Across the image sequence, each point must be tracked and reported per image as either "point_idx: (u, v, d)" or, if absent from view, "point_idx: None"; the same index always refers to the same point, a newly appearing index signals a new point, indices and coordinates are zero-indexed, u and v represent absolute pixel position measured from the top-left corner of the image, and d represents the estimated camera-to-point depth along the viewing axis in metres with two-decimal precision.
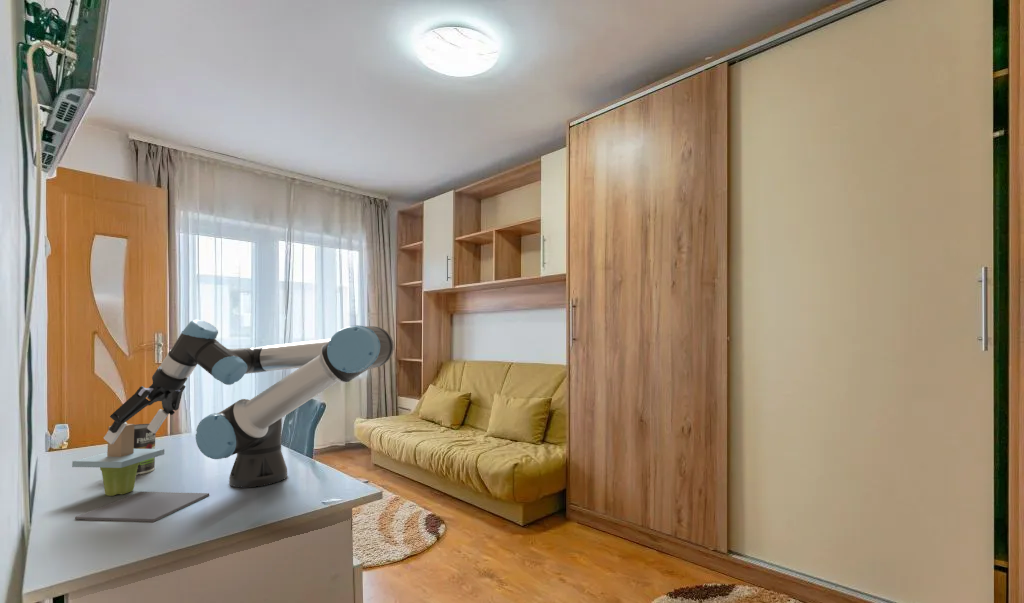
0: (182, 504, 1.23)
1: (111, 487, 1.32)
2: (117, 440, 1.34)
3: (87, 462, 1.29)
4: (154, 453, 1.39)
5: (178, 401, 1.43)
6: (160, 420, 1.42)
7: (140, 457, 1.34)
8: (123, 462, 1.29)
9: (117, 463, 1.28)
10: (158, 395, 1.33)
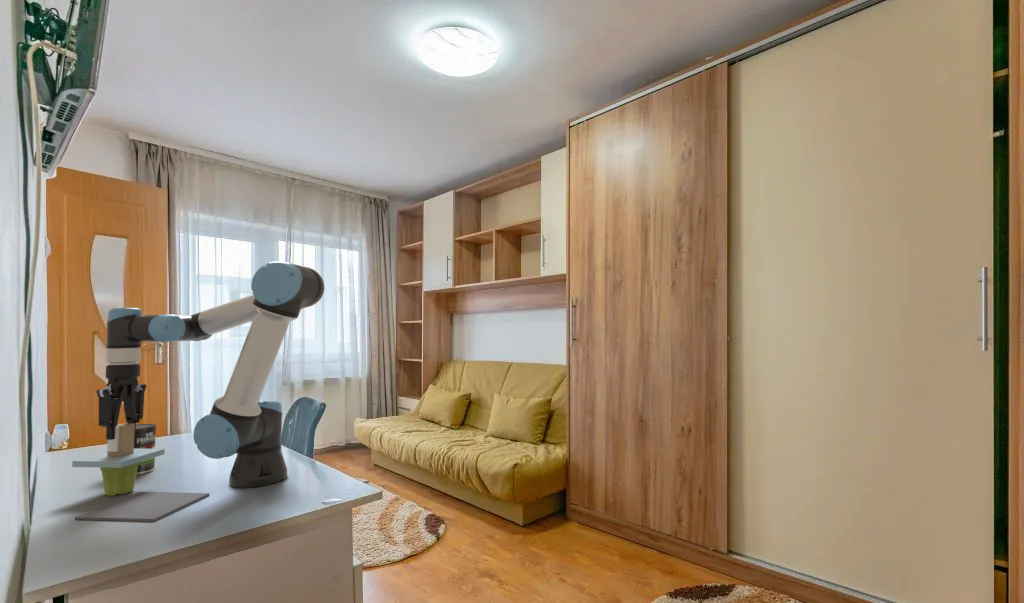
0: (182, 504, 1.23)
1: (111, 487, 1.32)
2: None
3: (87, 462, 1.29)
4: (154, 453, 1.39)
5: (141, 405, 1.42)
6: None
7: (140, 457, 1.34)
8: (123, 462, 1.29)
9: (117, 463, 1.28)
10: (121, 389, 1.35)
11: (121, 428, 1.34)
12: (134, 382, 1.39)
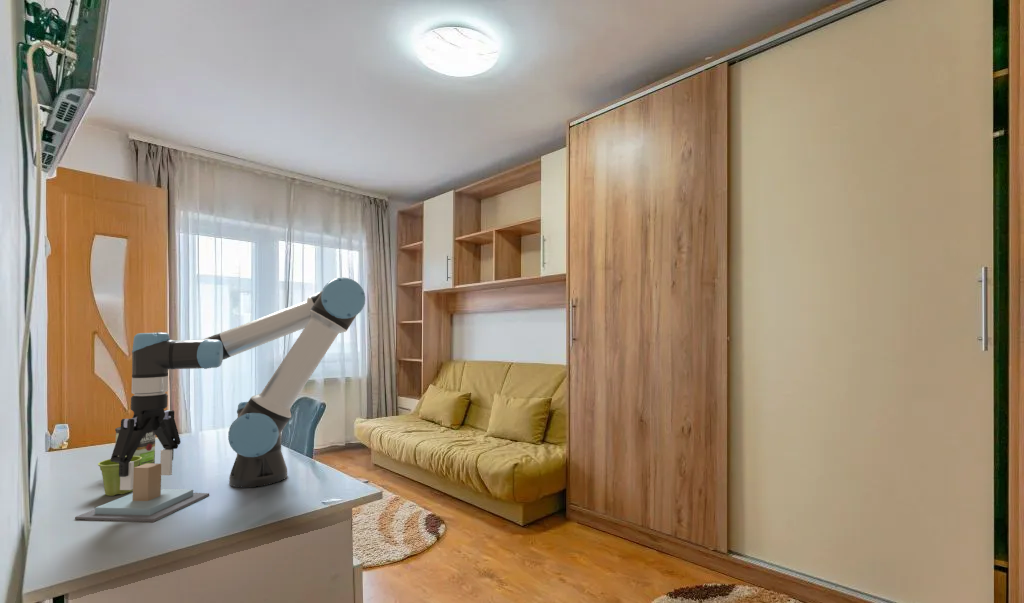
0: (182, 504, 1.23)
1: (111, 487, 1.32)
2: (143, 483, 1.22)
3: (111, 509, 1.17)
4: (183, 495, 1.27)
5: (175, 431, 1.32)
6: (168, 459, 1.30)
7: (169, 501, 1.22)
8: (151, 509, 1.17)
9: (145, 510, 1.16)
10: (147, 421, 1.23)
11: (148, 469, 1.22)
12: (161, 414, 1.27)
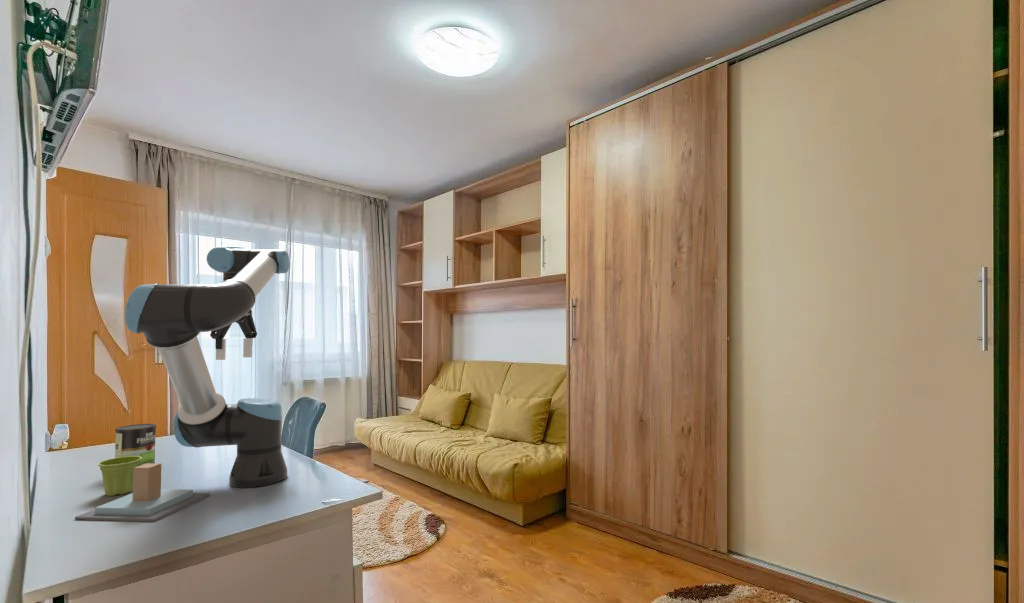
0: (182, 504, 1.23)
1: (111, 487, 1.32)
2: (143, 483, 1.22)
3: (111, 509, 1.17)
4: (183, 495, 1.27)
5: (253, 325, 1.71)
6: (249, 345, 1.69)
7: (169, 501, 1.22)
8: (151, 509, 1.17)
9: (145, 510, 1.16)
10: None
11: (148, 469, 1.22)
12: None
